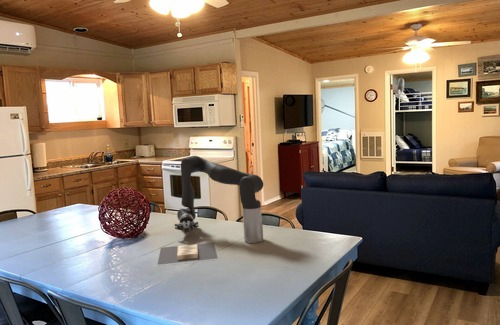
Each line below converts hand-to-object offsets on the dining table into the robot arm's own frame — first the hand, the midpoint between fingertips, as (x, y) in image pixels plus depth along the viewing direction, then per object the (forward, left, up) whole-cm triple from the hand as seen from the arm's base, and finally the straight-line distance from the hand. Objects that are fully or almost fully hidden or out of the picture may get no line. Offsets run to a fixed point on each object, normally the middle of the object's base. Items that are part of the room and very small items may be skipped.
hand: (186, 229), depth 201 cm
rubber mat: (0, +16, -7) cm, 18 cm away
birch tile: (0, +11, -6) cm, 12 cm away
